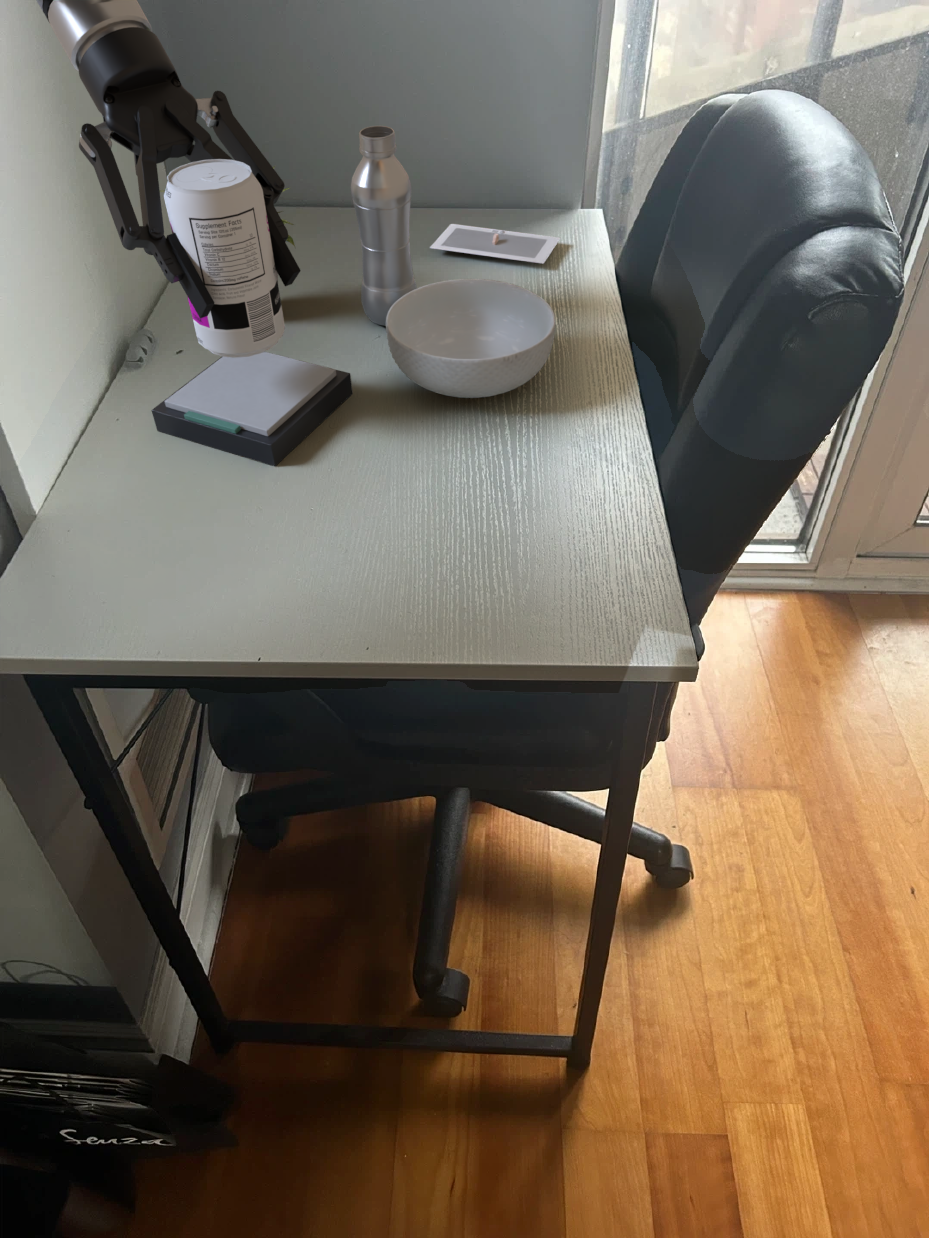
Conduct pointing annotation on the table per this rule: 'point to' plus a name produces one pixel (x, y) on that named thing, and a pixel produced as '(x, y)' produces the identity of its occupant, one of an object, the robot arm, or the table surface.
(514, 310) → the cereal bowl
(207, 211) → the supplement can
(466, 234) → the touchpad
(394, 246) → the silver metal bottle
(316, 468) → the table surface
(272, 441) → the scale
